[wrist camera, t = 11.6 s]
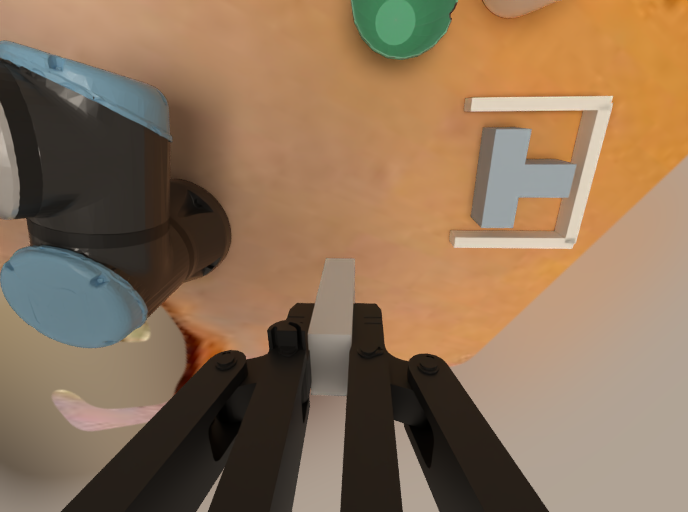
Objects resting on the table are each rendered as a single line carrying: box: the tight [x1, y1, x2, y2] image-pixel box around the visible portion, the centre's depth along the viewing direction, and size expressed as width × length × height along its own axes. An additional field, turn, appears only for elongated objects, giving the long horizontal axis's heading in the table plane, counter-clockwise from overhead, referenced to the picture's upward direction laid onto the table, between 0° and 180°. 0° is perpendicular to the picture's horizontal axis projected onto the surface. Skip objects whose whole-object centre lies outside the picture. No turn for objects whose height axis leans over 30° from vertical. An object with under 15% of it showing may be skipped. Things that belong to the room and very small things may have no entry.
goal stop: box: [449, 96, 613, 249], centre depth 46 cm, size 16×19×3 cm
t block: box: [471, 127, 577, 228], centre depth 45 cm, size 10×12×5 cm
